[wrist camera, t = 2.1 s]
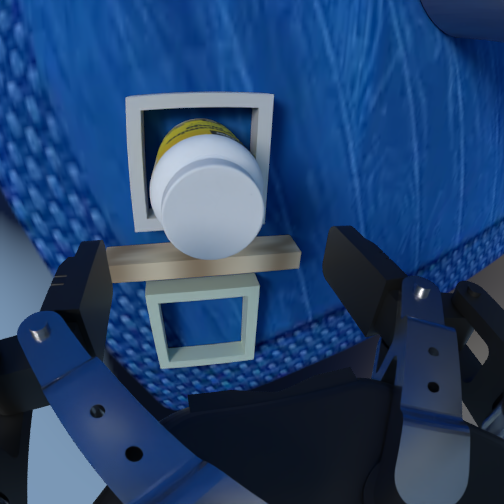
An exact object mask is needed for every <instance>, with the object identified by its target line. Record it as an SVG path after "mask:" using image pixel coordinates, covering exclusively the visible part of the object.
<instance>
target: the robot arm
mask: <svg viewBox="0 0 504 504" xmlns="http://www.w3.org/2000/svg"><path fill="white" fill-rule="evenodd" d="M421 2H422V5H423V7H424V9H425V10H426V12H427V14H428V16H429V17H430V18H431V20H432V21H433V22H434V23H435V24H436V25H437V26H438V28H439V29H441V30H442V31H443V32H445V33H446V34H448V35H450V36H452V37H457V38H468V39H480V40H489V41H498V42H504V0H421ZM323 274H324V277H325V279H326V280H327V282H328V283H329V285H330V286H331V288H332V289H333V290H334V292H335V293H336V295H337V296H338V298H339V299H340V300H341V302H342V303H343V305H344V306H345V308H346V309H347V310H348V312H349V313H350V315H351V316H352V318H353V319H354V321H355V322H356V324H357V325H358V327H359V328H360V329H361V331H362V332H363V334H364V335H365V337H369V336H373V335H377V334H379V335H380V336H381V337H380V340H379V342H378V345H377V351H376V357H375V363H374V367H373V373H372V378H371V379H367V378H356V376H355V374H354V373H353V371H352V369H351V368H350V367H348V368H344V369H340V370H336V371H332V372H327V373H323V374H318V375H314V376H312V377H311V378H308V379H306V380H304V381H302V382H300V383H298V384H295V385H293V386H291V387H289V388H287V389H284V390H282V391H279V392H256V391H238V390H227V391H219V392H211V393H202V394H192V395H188V402H189V407H188V408H185V409H182V410H180V411H178V412H175V413H173V414H171V415H170V416H168V417H166V418H164V419H163V420H161V421H160V422H158V421H157V420H156V419H155V418H154V417H153V416H152V415H151V414H150V413H149V412H148V411H147V410H146V409H145V408H144V407H143V406H142V405H141V404H140V403H139V402H138V401H137V400H136V399H135V398H134V397H133V396H132V395H131V394H130V392H129V391H128V390H127V389H126V388H125V387H124V386H123V385H122V384H121V383H120V382H119V380H118V379H117V378H116V377H115V376H114V375H113V374H112V373H111V371H110V370H109V369H108V368H107V367H106V366H105V365H104V363H103V356H104V348H105V341H106V334H107V327H108V320H109V314H110V308H111V302H112V295H113V288H112V279H111V274H110V270H109V265H108V260H107V255H106V249H105V245H104V242H103V240H96V241H84V242H81V243H80V246H79V248H78V250H77V253H76V255H75V257H68V258H67V259H66V260H65V261H64V262H63V263H62V264H61V265H60V266H59V267H58V270H57V272H56V274H55V278H53V281H52V283H51V286H50V288H49V290H48V293H47V295H46V297H45V300H44V302H43V305H42V307H41V310H40V312H37V313H34V314H32V315H30V316H29V317H27V318H26V319H25V320H24V321H23V322H22V323H21V324H20V326H19V328H18V331H17V335H16V336H13V337H9V338H5V339H2V340H0V504H27V471H28V451H29V439H30V428H31V419H32V411H33V409H37V408H41V407H44V406H48V405H51V407H52V408H53V410H54V412H55V413H56V415H57V417H58V418H59V420H60V421H61V423H62V424H63V426H64V428H65V429H66V431H67V432H68V434H69V435H70V436H71V438H72V439H73V441H74V442H75V443H76V445H77V447H78V448H79V449H80V451H81V452H82V453H83V455H84V456H85V458H86V459H87V460H88V462H89V463H90V464H91V466H92V467H93V468H94V469H95V471H96V472H97V473H98V474H99V476H100V477H101V478H102V479H103V481H104V482H105V483H106V484H107V486H106V487H105V488H104V490H103V491H102V492H101V494H100V495H99V496H98V497H97V499H96V500H95V501H94V502H93V504H504V310H503V309H502V308H501V307H500V306H499V304H497V302H496V301H495V300H494V299H492V297H491V296H490V295H489V294H488V293H487V292H486V291H485V290H484V289H483V288H481V287H480V286H478V285H477V284H475V283H472V282H469V281H460V282H459V283H458V284H457V286H456V288H455V291H454V293H453V294H452V293H441V292H440V290H439V288H438V287H437V286H436V285H435V284H434V283H433V282H431V281H429V280H428V279H425V278H423V277H419V276H407V275H406V274H405V273H404V272H403V271H402V270H401V269H400V268H399V267H398V266H397V265H396V264H395V263H394V262H393V261H392V260H391V259H389V257H388V256H387V255H386V254H385V253H383V251H382V250H381V249H380V248H379V247H378V246H377V245H375V244H374V243H372V242H371V241H369V240H367V239H365V238H364V237H363V236H362V235H361V234H360V233H359V232H358V231H357V230H356V229H355V228H353V227H352V226H333V227H331V228H330V230H329V233H328V238H327V243H326V249H325V254H324V259H323ZM474 329H475V331H477V333H478V334H479V335H480V336H481V338H482V339H483V340H484V341H485V343H486V344H487V346H488V348H489V356H488V358H487V360H486V361H485V363H484V364H483V366H482V365H481V363H480V362H479V361H478V359H477V358H476V357H475V355H474V354H473V353H472V351H471V350H470V349H469V347H468V346H467V345H466V343H467V341H468V339H469V338H470V336H471V334H472V332H473V331H474ZM462 401H463V403H464V404H465V406H466V407H467V409H468V410H469V412H470V414H471V415H472V417H473V419H474V420H475V422H476V423H477V425H478V427H476V426H475V425H472V424H470V423H468V422H466V421H464V420H463V419H462Z"/></svg>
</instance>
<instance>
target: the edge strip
mask: <svg viewBox="0 0 504 504" xmlns="http://www.w3.org/2000/svg"><path fill="white" fill-rule="evenodd" d="M106 255H107V260H108V265H109V270H110V274H111V279H112V283H120V282H135V281H150V280H164V279H177V278H190V277H203V276H216V275H228V274H240V273H252V272H263V271H274V270H286V269H296V268H299V264H300V257H301V251H300V249H299V248H298V246H297V245H296V243H295V242H294V240H293V239H292V238H291V236H290V235H279V236H262V237H255V238H254V240H253V241H252V242H251V243H250V244H249V245H248V246H247V247H246V248H244V249H243V250H241V251H240V252H238V253H236V254H234V255H232V256H229V257H227V258H223V259H218V260H203V259H197V258H194V257H191V256H189V255H186V254H185V253H183V252H181V251H180V250H178V249H177V248H176V247H175V246H174V245H173V244H172V243H157V244H143V245H130V246H117V247H107V249H106Z"/></svg>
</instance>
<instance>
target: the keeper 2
mask: <svg viewBox="0 0 504 504" xmlns="http://www.w3.org/2000/svg"><path fill="white" fill-rule="evenodd" d="M259 289H260V285H259V283H258V280H257V278H256V275H255V273H249V274H237V275H225V276H213V277H200V278H187V279H174V280H161V281H146V292H145V296H146V302H147V307H148V312H149V317H150V322H151V327H152V332H153V337H154V341H155V346H156V350H157V354H158V359H159V363H160V367H161V369H164V368H177V367H189V366H200V365H210V364H219V363H228V362H236V361H244V360H251V359H254V349H255V337H256V326H257V314H258V302H259ZM241 296H243V309H242V332H241V341H238V342H229V343H220V344H211V345H200V346H189V347H177V348H168V344H167V339H166V334H165V328H164V322H163V316H162V310H161V304H160V303H171V302H184V301H196V300H208V299H219V298H230V297H241Z"/></svg>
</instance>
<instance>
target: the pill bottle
mask: <svg viewBox="0 0 504 504" xmlns="http://www.w3.org/2000/svg"><path fill="white" fill-rule="evenodd" d="M263 193H264V183H263V176H262V173H261V170H260V167H259V165H258V163H257V161H256V160H255V158H254V156H253V155H252V154H251V153H250V152H249V150H248V149H247V148H246V147H245V146H244V145H243V144H242V143H241V142H240V141H239V140H238V139H237V138H236V137H235V136H234V134H233V133H232V132H231V131H230V130H229V129H227V128H226V127H225V126H223V125H222V124H220V123H218V122H215V121H213V120H209V119H191V120H188V121H184V122H182V123H180V124H178V125H177V126H175V127H174V128H173V129H172V130H170V131H169V132H168V134H167V135H166V136H165V137H164V139H163V141H162V143H161V145H160V147H159V150H158V154H157V157H156V161H155V165H154V169H153V173H152V176H151V181H150V201H151V205H152V209H153V211H154V214H155V216H156V217H157V219H158V221H159V222H160V223H161V225H162V226H163V228H164V231H165V234H166V235H167V237H168V239H169V240H170V241H171V243H172V244H173V245H174V246H175V247H176V248H177V249H178V250H180V251H181V252H183V253H185V254H186V255H189V256H191V257H194V258H197V259H203V260H218V259H223V258H227V257H229V256H232V255H234V254H236V253H238V252H240V251H241V250H243V249H244V248H246V247H247V246H248V245H249V244H250V243H251V242H252V241H253V240H254V238H255V237H256V236H257V234H258V232H259V230H260V228H261V226H262V223H263V219H264V201H263Z"/></svg>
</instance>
